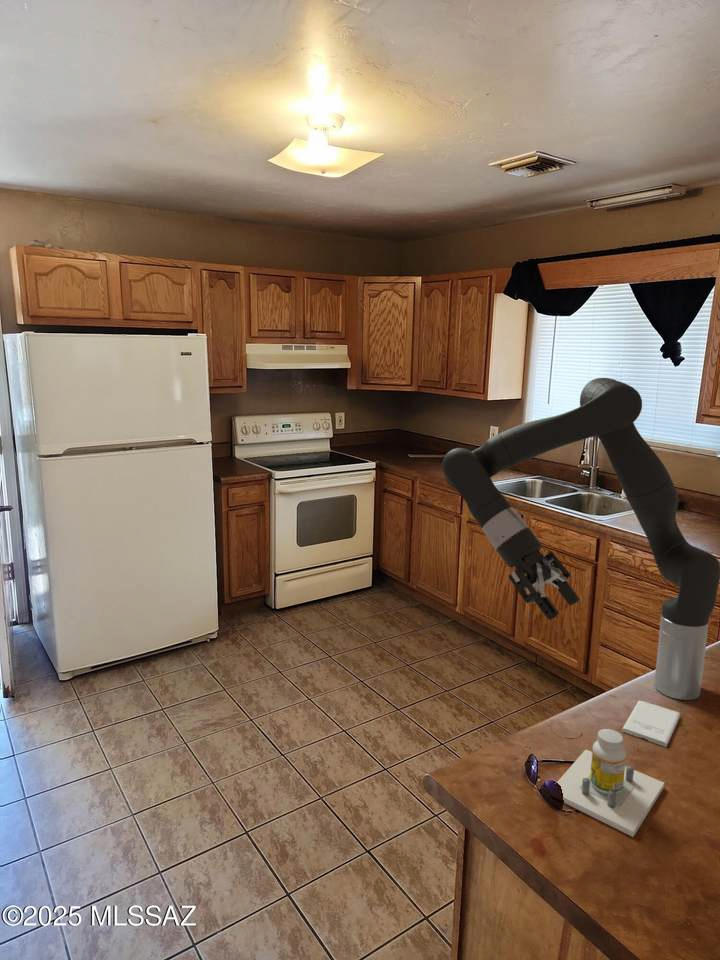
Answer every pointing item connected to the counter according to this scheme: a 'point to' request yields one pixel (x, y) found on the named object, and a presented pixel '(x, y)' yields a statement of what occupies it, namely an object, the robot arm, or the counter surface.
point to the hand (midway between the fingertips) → (565, 609)
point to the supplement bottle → (608, 762)
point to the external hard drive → (652, 723)
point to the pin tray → (610, 795)
